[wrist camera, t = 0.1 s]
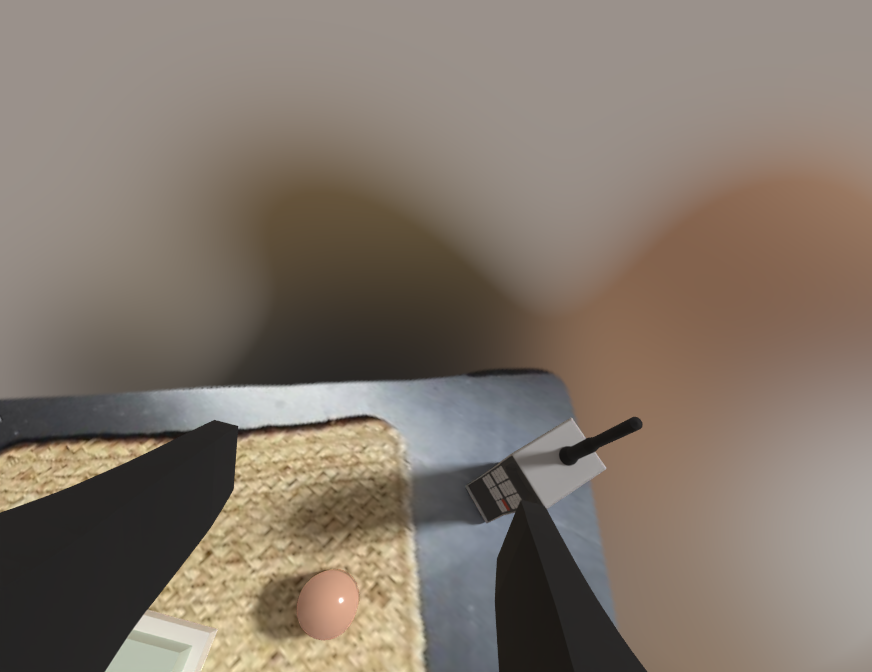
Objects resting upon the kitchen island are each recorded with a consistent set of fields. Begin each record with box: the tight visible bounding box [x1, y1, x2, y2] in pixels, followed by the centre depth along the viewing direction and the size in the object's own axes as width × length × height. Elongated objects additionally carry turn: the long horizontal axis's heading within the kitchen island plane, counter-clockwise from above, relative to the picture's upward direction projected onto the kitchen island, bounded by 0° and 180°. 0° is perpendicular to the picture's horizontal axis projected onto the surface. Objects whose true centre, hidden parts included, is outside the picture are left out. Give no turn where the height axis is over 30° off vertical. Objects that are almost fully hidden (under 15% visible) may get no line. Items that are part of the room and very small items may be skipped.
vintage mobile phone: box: [465, 417, 642, 523], centre depth 31 cm, size 4×5×25 cm
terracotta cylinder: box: [297, 569, 359, 640], centre depth 36 cm, size 4×4×4 cm
